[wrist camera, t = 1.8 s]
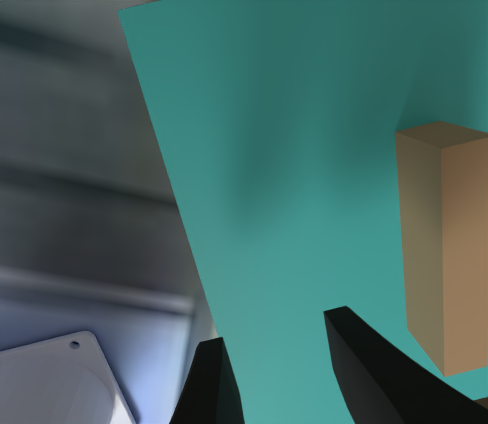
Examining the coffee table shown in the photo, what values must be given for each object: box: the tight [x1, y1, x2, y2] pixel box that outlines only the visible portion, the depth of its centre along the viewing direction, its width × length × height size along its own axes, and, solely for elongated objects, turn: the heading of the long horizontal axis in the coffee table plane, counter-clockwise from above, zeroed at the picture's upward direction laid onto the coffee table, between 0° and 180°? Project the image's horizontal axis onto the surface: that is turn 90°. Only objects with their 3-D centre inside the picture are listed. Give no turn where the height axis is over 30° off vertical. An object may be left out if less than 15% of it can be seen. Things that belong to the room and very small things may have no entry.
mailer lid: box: [117, 0, 488, 424], centre depth 13 cm, size 14×18×3 cm
